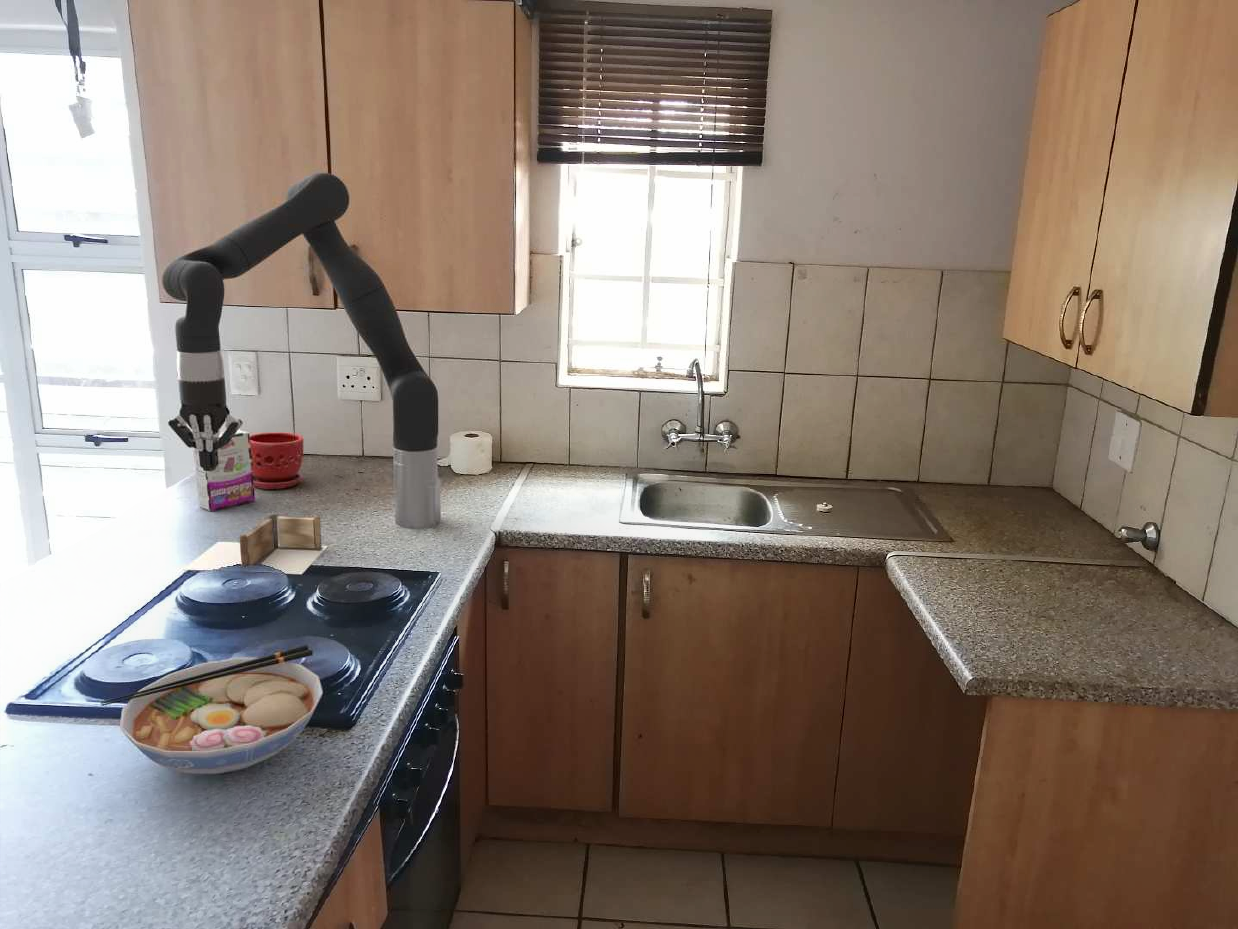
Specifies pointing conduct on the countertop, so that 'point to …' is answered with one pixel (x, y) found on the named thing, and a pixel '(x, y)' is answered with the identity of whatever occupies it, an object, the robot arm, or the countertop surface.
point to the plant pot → (276, 459)
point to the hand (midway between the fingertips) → (209, 469)
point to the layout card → (276, 558)
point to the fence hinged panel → (256, 543)
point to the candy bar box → (227, 475)
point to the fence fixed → (296, 532)
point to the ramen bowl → (222, 712)
